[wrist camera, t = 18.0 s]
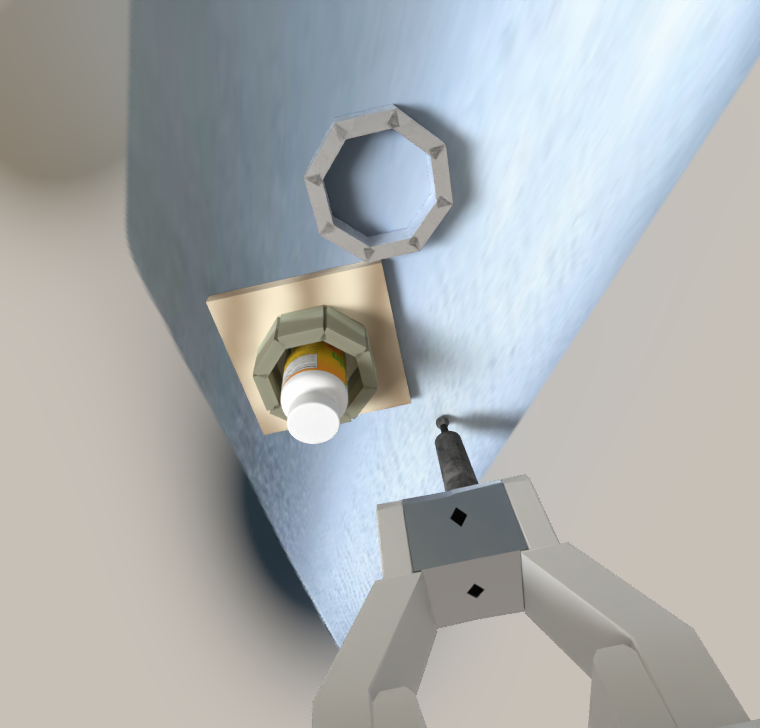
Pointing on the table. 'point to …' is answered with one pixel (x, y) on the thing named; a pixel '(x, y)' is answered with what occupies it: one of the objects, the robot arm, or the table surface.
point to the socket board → (314, 336)
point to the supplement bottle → (314, 391)
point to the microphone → (453, 458)
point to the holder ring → (426, 216)
